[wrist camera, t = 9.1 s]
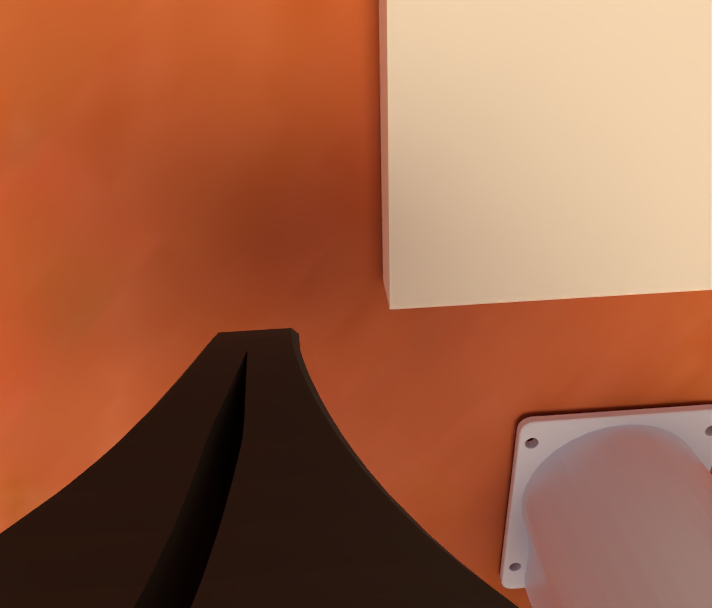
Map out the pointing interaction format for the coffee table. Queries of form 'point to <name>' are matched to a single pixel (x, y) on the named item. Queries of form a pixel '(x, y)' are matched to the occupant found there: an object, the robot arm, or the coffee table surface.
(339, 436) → the robot arm
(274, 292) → the coffee table surface
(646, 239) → the cream flat square slab
